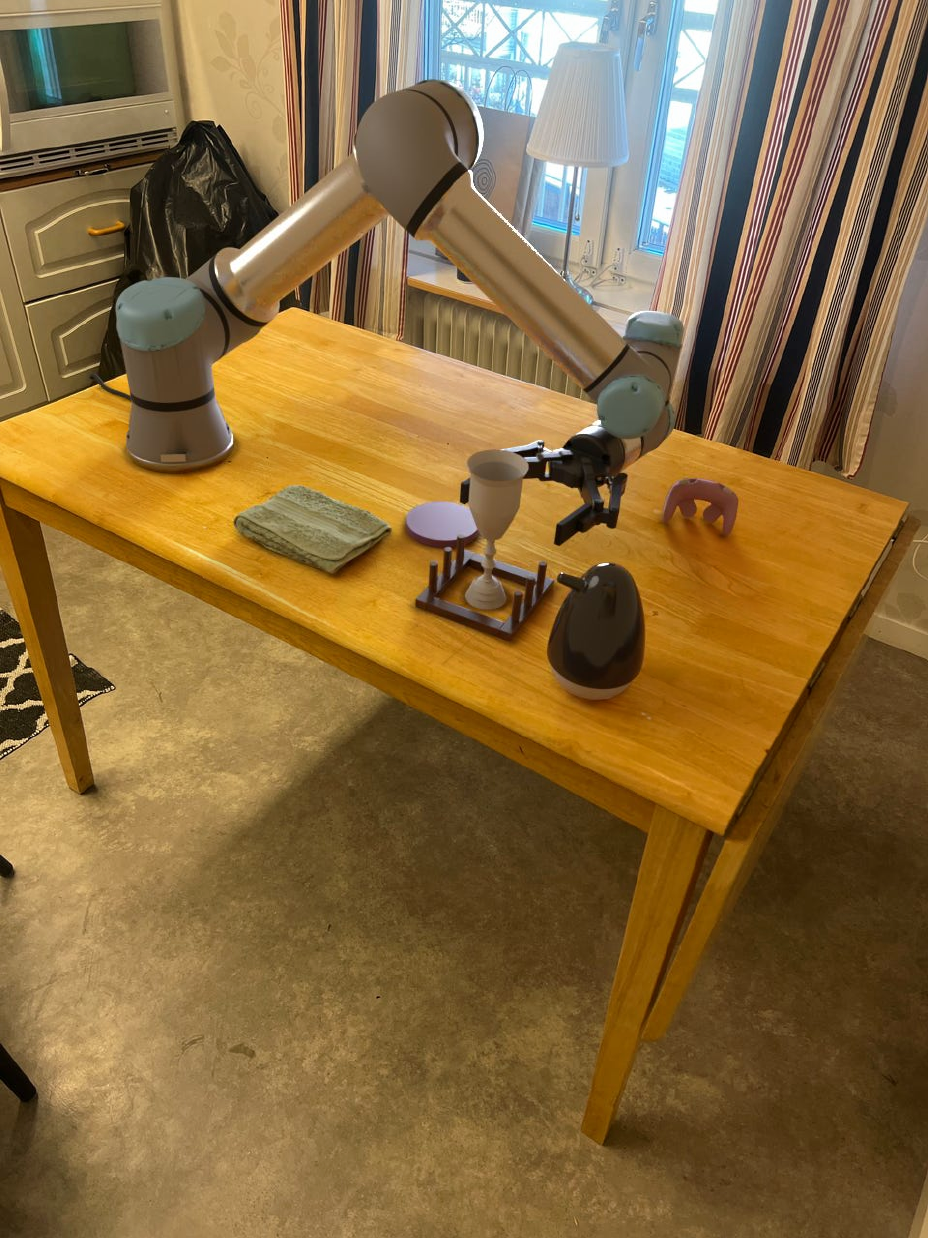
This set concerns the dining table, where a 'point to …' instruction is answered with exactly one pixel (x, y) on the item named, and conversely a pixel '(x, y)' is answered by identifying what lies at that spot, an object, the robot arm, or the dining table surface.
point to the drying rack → (534, 582)
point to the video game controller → (704, 490)
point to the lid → (440, 524)
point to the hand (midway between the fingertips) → (508, 514)
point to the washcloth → (311, 527)
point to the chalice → (493, 514)
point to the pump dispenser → (598, 633)
